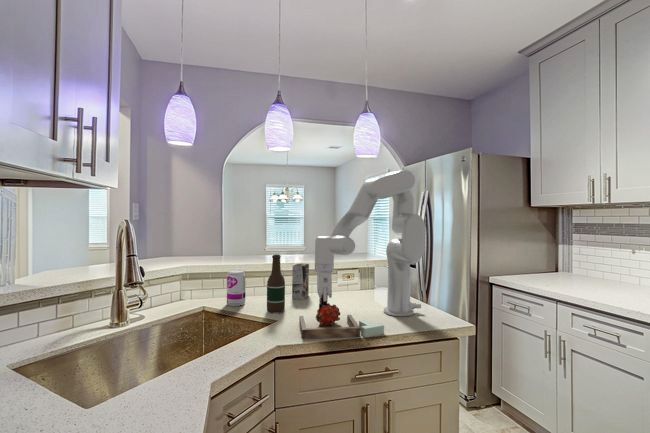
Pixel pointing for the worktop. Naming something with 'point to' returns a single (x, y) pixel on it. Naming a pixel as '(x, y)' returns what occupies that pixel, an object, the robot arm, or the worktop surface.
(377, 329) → the t block
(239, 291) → the supplement can
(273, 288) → the beer bottle
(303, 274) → the coffee box
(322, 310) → the dragon fruit
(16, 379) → the worktop surface
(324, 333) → the bay
